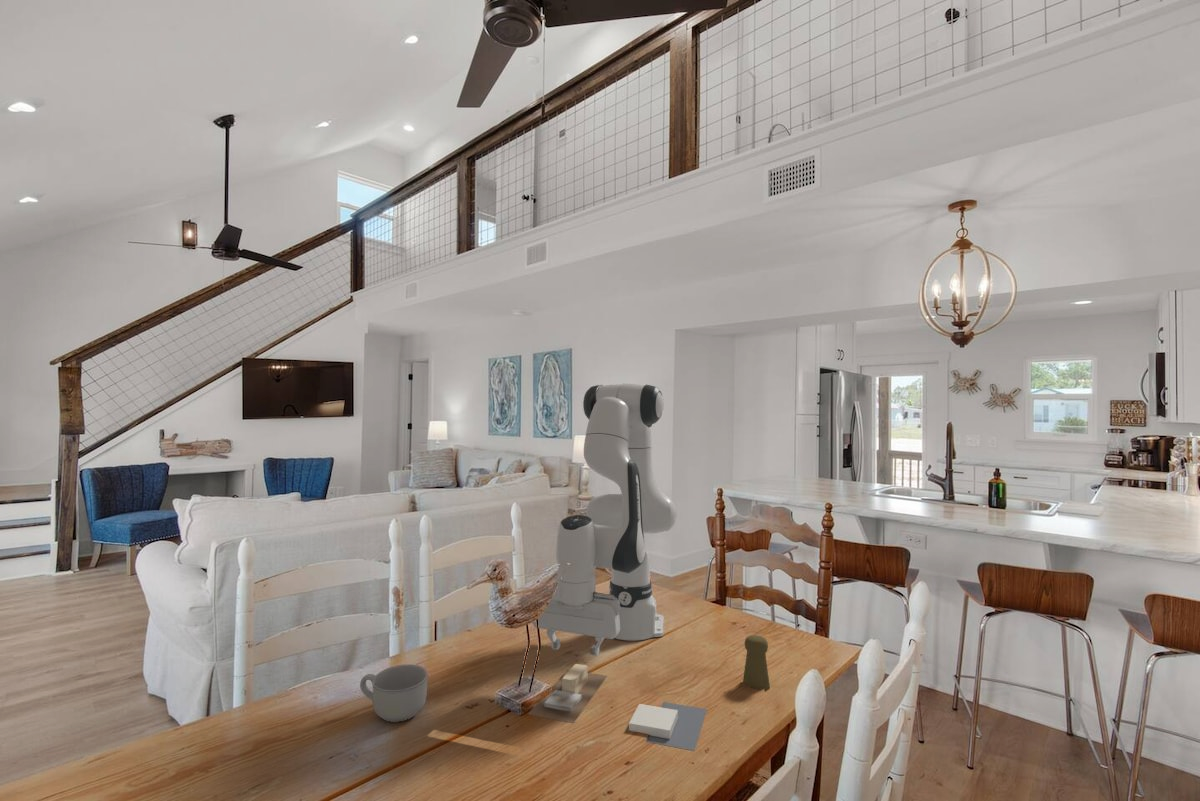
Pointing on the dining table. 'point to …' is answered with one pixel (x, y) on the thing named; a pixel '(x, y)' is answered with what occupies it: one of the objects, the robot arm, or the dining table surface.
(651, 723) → the tile
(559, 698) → the beige upright plank
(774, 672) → the dining table surface
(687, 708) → the mat
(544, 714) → the board
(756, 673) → the olive green pawn
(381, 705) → the teacup
